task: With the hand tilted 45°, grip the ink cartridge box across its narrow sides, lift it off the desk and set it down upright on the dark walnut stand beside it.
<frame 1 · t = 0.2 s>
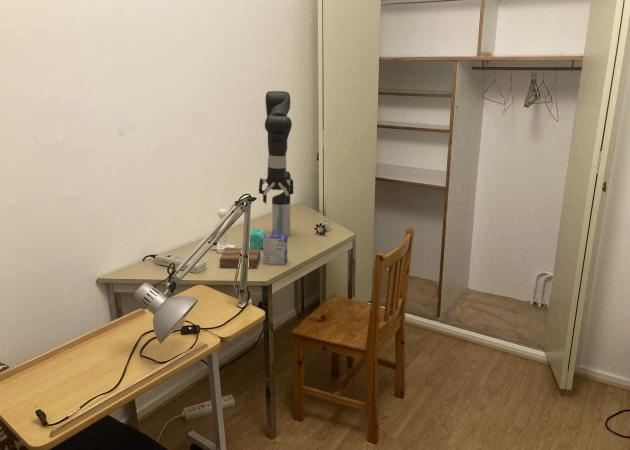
hand: (275, 203, 223), 29 cm above the table, tool pointing down, fingers open, 8 cm apart
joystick: (222, 251, 251), on the table
ink cartridge box: (275, 262, 238), on the table
decorative dice: (256, 247, 257), on the table
walnut stand: (240, 262, 237), on the table
valve: (324, 232, 280), on the table
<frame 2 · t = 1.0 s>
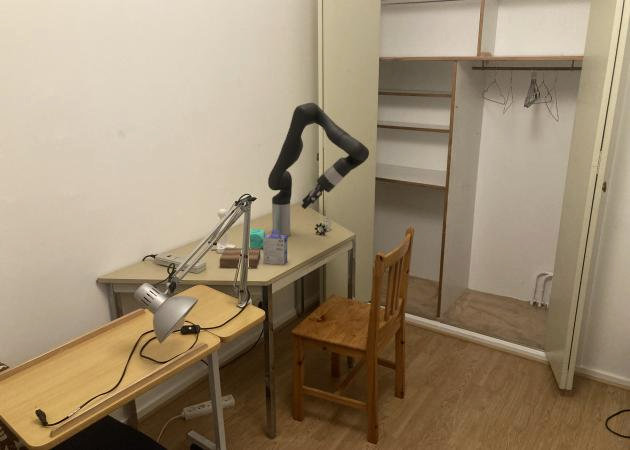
hand: (303, 204, 230), 27 cm above the table, tool tilted 45°, fingers open, 8 cm apart
nothing on the table moved.
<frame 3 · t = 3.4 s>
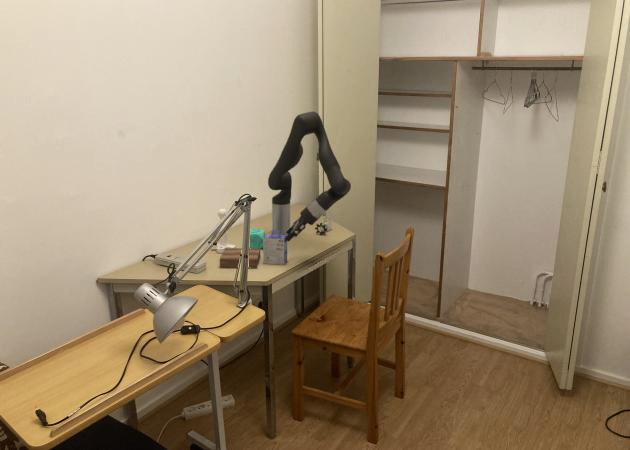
hand: (287, 236, 234), 12 cm above the table, tool tilted 45°, fingers open, 8 cm apart
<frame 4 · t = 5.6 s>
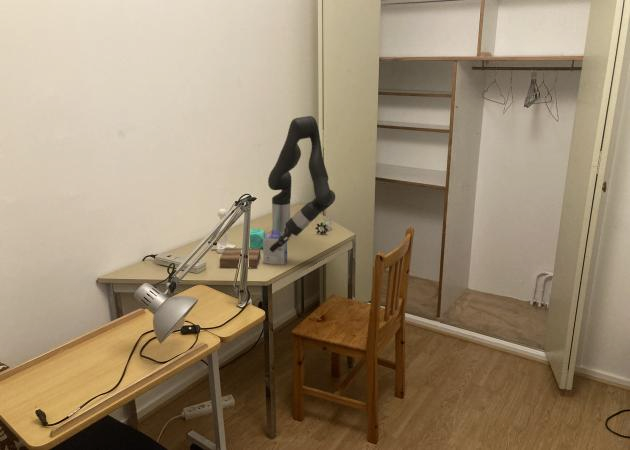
hand: (271, 247, 236), 7 cm above the table, tool tilted 45°, fingers closed on ink cartridge box, 6 cm apart
ink cartridge box: (275, 262, 238), on the table, touching gripper
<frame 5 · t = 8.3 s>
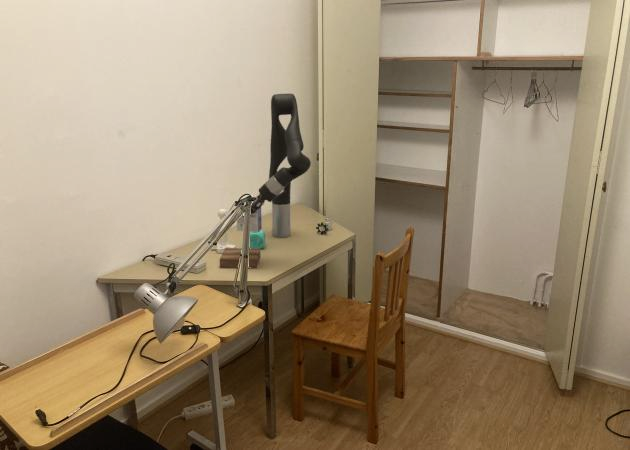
hand: (245, 215, 231), 22 cm above the table, tool tilted 45°, fingers closed on ink cartridge box, 6 cm apart
ink cartridge box: (249, 230, 233), point 15 cm above the table, touching gripper
when the fingers open (12 cm above the table, at t = 11.0 s): ink cartridge box drops 1 cm, resting on walnut stand.
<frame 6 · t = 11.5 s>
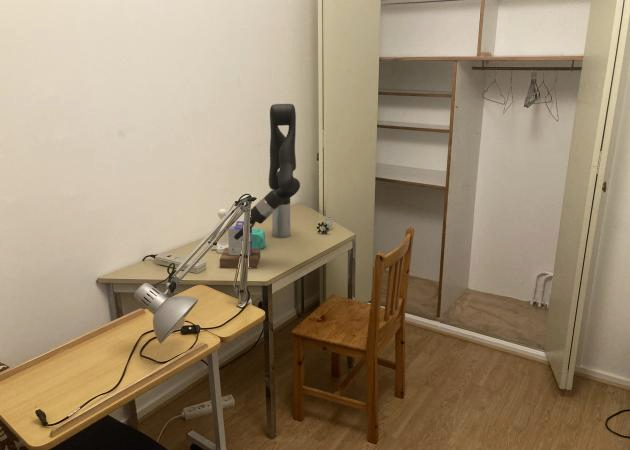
hand: (236, 235, 234), 13 cm above the table, tool tilted 45°, fingers open, 8 cm apart
ink cartridge box: (240, 254, 236), point 4 cm above the table, touching walnut stand
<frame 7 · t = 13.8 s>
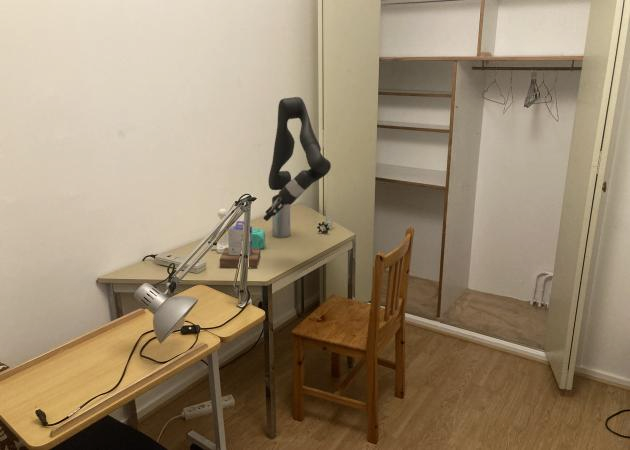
hand: (265, 216, 231), 21 cm above the table, tool tilted 45°, fingers open, 8 cm apart
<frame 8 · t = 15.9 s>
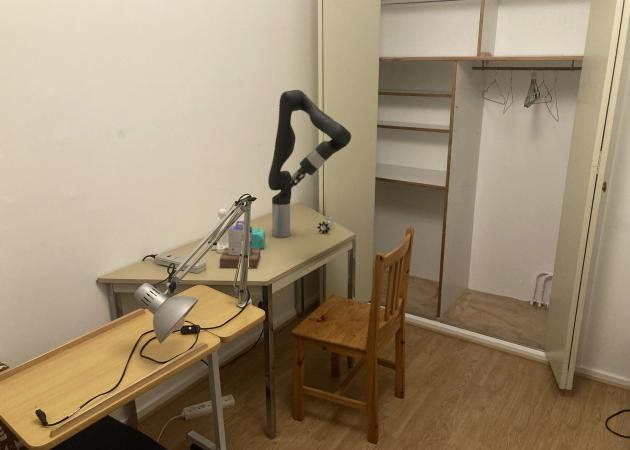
hand: (286, 187, 234), 33 cm above the table, tool tilted 45°, fingers open, 8 cm apart
at the end: ink cartridge box inside the target area on the walnut stand (0.2 cm from its centre), point 3.8 cm above the walnut stand's base; ink cartridge box tilted 0°; the gripper is holding nothing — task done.
